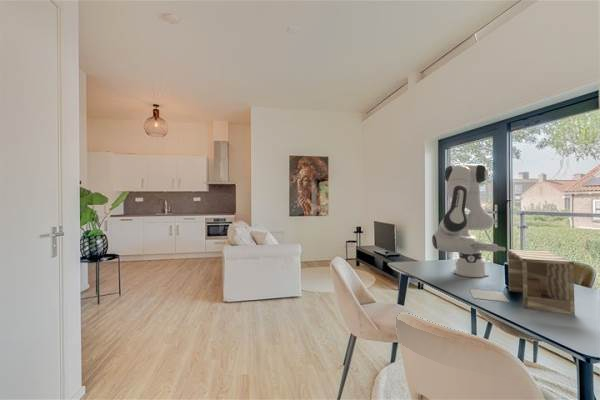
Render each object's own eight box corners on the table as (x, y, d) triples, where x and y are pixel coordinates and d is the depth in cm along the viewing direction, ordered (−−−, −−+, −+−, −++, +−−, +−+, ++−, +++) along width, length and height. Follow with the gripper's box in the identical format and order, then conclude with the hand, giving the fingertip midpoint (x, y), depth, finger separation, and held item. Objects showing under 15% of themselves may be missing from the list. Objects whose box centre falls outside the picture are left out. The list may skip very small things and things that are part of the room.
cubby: (509, 290, 142) (507, 249, 142) (549, 294, 135) (548, 251, 135) (524, 308, 118) (523, 258, 118) (574, 314, 111) (573, 261, 111)
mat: (469, 289, 144) (469, 289, 144) (502, 293, 138) (502, 292, 138) (473, 298, 132) (473, 297, 132) (509, 302, 126) (509, 301, 126)
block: (523, 298, 131) (523, 276, 131) (537, 299, 129) (536, 277, 129) (526, 301, 126) (526, 279, 126) (540, 303, 124) (540, 280, 124)
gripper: (476, 239, 128) (510, 242, 124) (462, 238, 147) (492, 241, 144) (475, 252, 127) (510, 256, 123) (461, 250, 147) (491, 254, 143)
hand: (500, 248), depth 134 cm, fingers open, 8 cm apart
